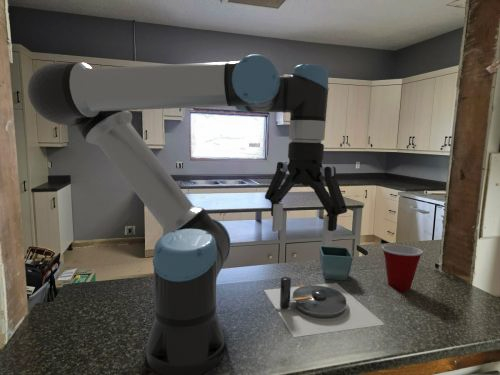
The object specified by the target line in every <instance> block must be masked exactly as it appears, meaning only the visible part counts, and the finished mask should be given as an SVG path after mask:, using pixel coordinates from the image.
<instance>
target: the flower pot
mask: <svg viewBox="0 0 500 375" xmlns="http://www.w3.org/2000/svg"><path fill="white" fill-rule="evenodd" d="M353 259H354V256H353V254H352V253H351V251H350V250H349V248H347V247H338V246H337V247H336V246H325V247H324V246H322V245H321V246H319V261H320V267H321V271H322V275H323V277H324V279H325V280H337V281H346V280H347V279H348V277H349V275H350V273H351V268H352V265H353Z"/></svg>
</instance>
